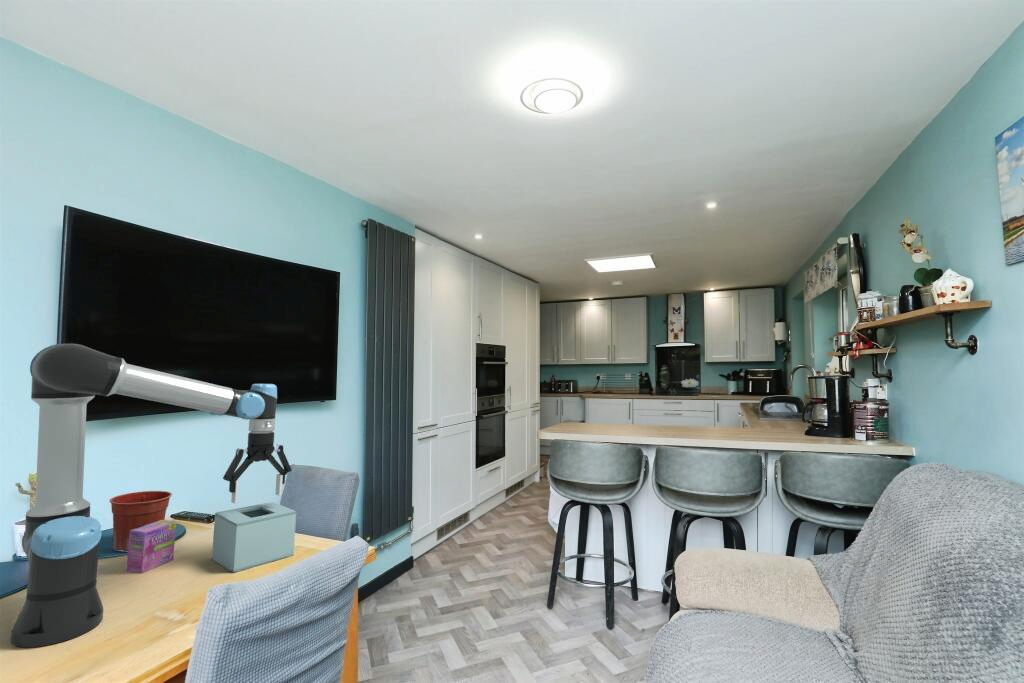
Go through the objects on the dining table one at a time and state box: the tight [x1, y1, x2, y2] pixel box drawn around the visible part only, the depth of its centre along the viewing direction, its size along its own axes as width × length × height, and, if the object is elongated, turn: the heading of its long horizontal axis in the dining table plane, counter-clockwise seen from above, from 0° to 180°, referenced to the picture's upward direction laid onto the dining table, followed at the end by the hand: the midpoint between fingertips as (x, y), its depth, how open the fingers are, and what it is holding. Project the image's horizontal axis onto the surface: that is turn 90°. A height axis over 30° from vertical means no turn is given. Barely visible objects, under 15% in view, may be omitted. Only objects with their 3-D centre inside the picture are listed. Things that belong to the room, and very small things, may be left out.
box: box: [126, 519, 177, 574], centre depth 143 cm, size 10×6×12 cm, turn 168°
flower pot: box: [109, 490, 173, 551], centre depth 158 cm, size 16×16×16 cm
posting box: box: [211, 501, 297, 574], centre depth 152 cm, size 18×16×14 cm
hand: (257, 498), depth 153 cm, fingers open, 13 cm apart
